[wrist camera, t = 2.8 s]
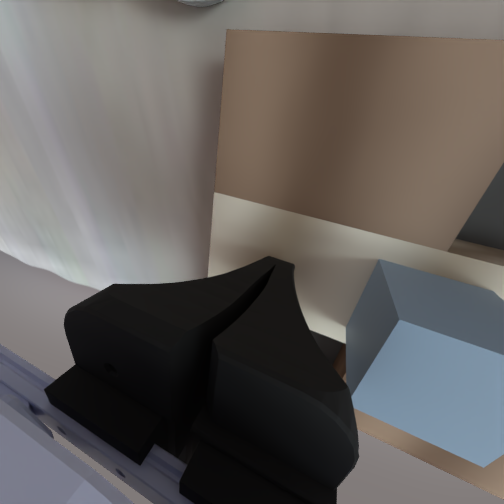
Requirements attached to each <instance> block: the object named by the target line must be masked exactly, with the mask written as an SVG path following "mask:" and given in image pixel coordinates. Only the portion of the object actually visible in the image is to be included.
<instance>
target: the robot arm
mask: <svg viewBox="0 0 504 504" xmlns="http://www.w3.org/2000/svg"><path fill="white" fill-rule="evenodd" d="M294 270H295V265H294V264H293V263H290V262H286V261H283V260H280V259H277V258H274V257H271V256H267V257H264V258H262V259H260V260H258V261H256V262H253V263H251V264H249V265H246V266H244V267H241V268H238V269H236V270H233V271H230V272H227V273H224V274H220V275H217V276H212V277H208V278H203V279H197V280H191V281H184V282H176V283H163V284H112V285H111V286H109V287H107V288H105V289H104V290H102V291H100V292H98V293H96V294H95V295H93V296H91V297H90V298H88V299H86V300H84V301H82V302H80V303H79V304H77V305H75V306H73V307H71V308H70V309H69V310H68V311H67V313H66V315H65V320H64V328H65V332H66V336H67V339H68V342H69V345H70V349H71V351H72V355H73V358H74V361H75V364H76V365H74V366H73V367H72V368H70V369H69V370H68V371H67V372H65V373H64V374H63V375H61V376H60V377H59V378H58V379H56V380H55V379H54V378H52V377H51V376H49V375H47V374H46V373H45V372H43V371H41V370H40V369H38V368H37V367H35V366H34V365H32V364H31V363H29V362H27V361H26V360H24V359H23V358H21V357H20V356H18V355H17V354H15V353H13V352H12V351H10V350H9V349H7V348H6V347H4V346H2V345H1V344H0V504H134V503H133V502H132V501H131V500H130V499H129V498H127V497H126V496H125V495H124V494H123V493H121V492H120V491H119V490H118V489H117V488H116V487H115V486H113V485H112V484H111V483H110V482H109V481H107V480H106V479H105V478H104V477H103V476H102V475H100V474H99V473H98V472H97V471H96V470H94V469H93V468H92V467H90V466H89V465H88V464H86V463H85V462H84V461H82V460H81V459H80V458H78V457H77V456H76V455H74V454H73V453H71V452H70V451H69V450H68V449H66V448H65V447H64V446H62V445H61V444H59V443H58V442H57V441H55V440H54V437H53V434H52V432H51V430H50V429H49V428H48V427H47V426H46V425H48V426H49V427H50V428H51V429H53V430H54V431H56V432H57V433H58V434H60V435H61V436H62V437H64V438H65V439H66V440H68V441H69V442H71V443H72V444H73V445H75V446H76V447H77V448H79V449H80V450H81V451H83V452H84V453H85V454H87V455H88V456H90V457H91V458H92V459H94V460H95V461H96V462H98V463H99V464H100V465H102V466H103V467H104V468H106V469H107V470H109V471H110V472H111V473H113V474H114V475H115V476H117V477H118V478H120V479H121V480H122V481H124V482H125V483H126V484H128V485H129V486H130V487H132V488H133V489H134V490H136V491H137V492H139V493H140V494H141V495H143V496H144V497H145V498H147V499H148V500H149V501H151V502H152V503H154V504H336V502H337V501H336V500H337V487H338V486H339V485H340V484H341V482H342V481H343V480H344V479H345V477H347V475H348V474H349V473H350V472H351V471H352V469H353V468H354V467H355V465H356V462H357V460H358V458H359V454H358V448H359V444H358V431H357V424H356V418H355V413H354V407H353V402H352V398H351V393H350V389H349V387H348V386H347V384H346V383H345V382H344V380H343V379H342V378H341V376H340V375H339V374H338V372H337V371H336V370H335V369H334V367H333V366H332V365H331V363H330V362H329V361H328V359H327V358H326V356H325V355H324V353H323V352H322V350H321V349H320V347H319V346H318V344H317V342H316V340H315V338H314V336H313V335H312V333H311V331H310V329H309V327H308V325H307V323H306V320H305V318H304V316H303V313H302V310H301V308H300V304H299V301H298V297H297V293H296V288H295V282H294ZM44 423H45V424H46V425H45V424H44Z"/></svg>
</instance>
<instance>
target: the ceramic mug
mask: <svg viewBox="0 0 504 504" xmlns="http://www.w3.org/2000/svg"><path fill="white" fill-rule="evenodd" d="M177 1H179V2H181V3H184V4H186V5H191V6H196V7H207V6H210V5H214V4H216V3H219V2H222V1H223V0H177Z"/></svg>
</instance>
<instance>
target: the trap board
mask: <svg viewBox="0 0 504 504" xmlns="http://www.w3.org/2000/svg"><path fill="white" fill-rule="evenodd" d="M267 256H271V257H274V258H277V259H280V260H283V261H286V262H290V263H293V264H294V265H295V270H294V282H295V288H296V293H297V297H298V301H299V304H300V308H301V310H302V313H303V316H304V318H305V320H306V323H307V325H308V327H309V329H310V331H311V333H312V335H313V336H314V338H315V340H316V342H317V344H318V346H319V347H320V349H321V350H322V352H323V353H324V355H325V356H326V358H327V359H328V361H329V362H330V363H331V365H332V366H333V367H334V369H335V370H336V371H337V372H338V374H339V375H340V376H341V378H342V379H343V380H344V382H345V383H346V326H347V324H348V322H349V320H350V317H351V315H352V313H353V311H354V309H355V307H356V305H357V303H358V301H359V299H360V297H361V295H362V293H363V291H364V288H365V286H366V284H367V282H368V280H369V278H370V276H371V274H372V272H373V270H374V268H375V266H376V264H377V262H378V260H379V259H382V260H385V261H389V262H392V263H396V264H399V265H403V266H406V267H410V268H414V269H417V270H421V271H424V272H428V273H431V274H435V275H438V276H442V277H445V278H449V279H452V280H456V281H459V282H463V283H466V284H470V285H473V286H477V287H481V288H484V289H488V290H491V291H494V292H495V293H496V294H497V295H498V296H499V297H500V298H501V299H503V300H504V40H487V39H462V38H436V37H410V36H384V35H358V34H332V33H307V32H281V31H255V30H229V29H227V32H226V45H225V58H224V71H223V84H222V97H221V110H220V123H219V136H218V149H217V161H216V174H215V187H214V200H213V213H212V226H211V239H210V252H209V265H208V277H212V276H217V275H220V274H224V273H227V272H230V271H233V270H236V269H238V268H241V267H244V266H246V265H249V264H251V263H253V262H256V261H258V260H260V259H262V258H264V257H267ZM354 413H355V418H356V424H357V429H358V430H360V431H362V432H365V433H366V434H368V435H371V436H373V437H375V438H377V439H379V440H381V441H383V442H385V443H387V444H389V445H391V446H393V447H395V448H397V449H400V450H402V451H404V452H406V453H408V454H410V455H412V456H414V457H416V458H418V459H421V460H422V461H424V462H427V463H429V464H431V465H433V466H435V467H437V468H439V469H441V470H443V471H445V472H447V473H449V474H452V475H454V476H456V477H458V478H460V479H462V480H464V481H466V482H468V483H470V484H473V485H474V486H477V487H478V488H481V489H483V490H485V491H487V492H489V493H491V494H493V495H495V496H497V497H499V498H501V499H503V500H504V454H503V455H502V456H500V457H499V458H497V459H496V460H494V461H493V462H491V463H490V464H489V465H487V466H486V467H484V468H483V467H481V466H479V465H477V464H475V463H472V462H470V461H468V460H466V459H464V458H461V457H459V456H457V455H455V454H453V453H451V452H448V451H446V450H444V449H442V448H440V447H438V446H435V445H433V444H431V443H429V442H427V441H425V440H422V439H420V438H418V437H416V436H414V435H411V434H409V433H407V432H405V431H403V430H401V429H398V428H396V427H394V426H392V425H390V424H388V423H385V422H383V421H381V420H379V419H377V418H374V417H372V416H370V415H368V414H366V413H364V412H361V411H359V410H357V409H355V408H354Z"/></svg>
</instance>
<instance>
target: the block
mask: <svg viewBox="0 0 504 504" xmlns="http://www.w3.org/2000/svg"><path fill="white" fill-rule="evenodd" d="M346 384H347V386H348V387H349V389H350V393H351V398H352V402H353V407H354V408H355V409H357V410H359V411H361V412H364V413H366V414H368V415H370V416H372V417H374V418H377V419H379V420H381V421H383V422H385V423H388V424H390V425H392V426H394V427H396V428H398V429H401V430H403V431H405V432H407V433H409V434H411V435H414V436H416V437H418V438H420V439H422V440H425V441H427V442H429V443H431V444H433V445H435V446H438V447H440V448H442V449H444V450H446V451H448V452H451V453H453V454H455V455H457V456H459V457H461V458H464V459H466V460H468V461H470V462H472V463H475V464H477V465H479V466H481V467H483V468H484V467H486V466H487V465H489V464H490V463H491V462H493V461H494V460H496V459H497V458H499V457H500V456H502V455H503V454H504V300H503V299H501V298H500V297H499V296H498V295H497V294H496V293H495V292H494V291H491V290H488V289H484V288H481V287H477V286H473V285H470V284H466V283H463V282H459V281H456V280H452V279H449V278H445V277H442V276H438V275H435V274H431V273H428V272H424V271H421V270H417V269H414V268H410V267H406V266H403V265H399V264H396V263H392V262H389V261H385V260H382V259H379V260H378V262H377V264H376V266H375V268H374V270H373V272H372V274H371V276H370V278H369V280H368V282H367V284H366V286H365V288H364V291H363V293H362V295H361V297H360V299H359V301H358V303H357V305H356V307H355V309H354V311H353V313H352V315H351V317H350V320H349V322H348V324H347V326H346Z"/></svg>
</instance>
